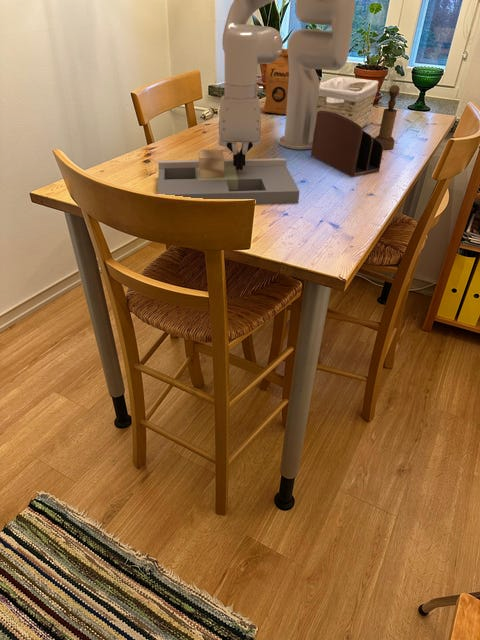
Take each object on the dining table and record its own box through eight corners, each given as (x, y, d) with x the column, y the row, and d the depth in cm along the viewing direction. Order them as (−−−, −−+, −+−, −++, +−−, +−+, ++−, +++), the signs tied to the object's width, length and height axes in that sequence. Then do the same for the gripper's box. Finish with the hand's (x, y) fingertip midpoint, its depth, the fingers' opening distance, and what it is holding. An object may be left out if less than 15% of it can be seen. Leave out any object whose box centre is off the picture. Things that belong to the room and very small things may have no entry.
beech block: (222, 168, 122) (221, 149, 119) (224, 177, 118) (224, 157, 115) (199, 169, 122) (198, 150, 119) (200, 177, 117) (199, 158, 114)
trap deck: (283, 174, 128) (284, 158, 125) (298, 202, 113) (300, 185, 111) (159, 177, 125) (158, 160, 122) (158, 207, 110) (156, 188, 107)
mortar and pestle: (395, 145, 151) (408, 84, 140) (391, 151, 146) (404, 88, 135) (374, 142, 153) (386, 82, 142) (370, 147, 148) (382, 86, 137)
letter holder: (352, 178, 128) (361, 124, 119) (310, 156, 141) (315, 107, 133) (379, 172, 132) (390, 120, 123) (335, 151, 145) (343, 103, 137)
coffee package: (292, 117, 175) (297, 51, 162) (260, 114, 178) (263, 48, 165) (298, 111, 183) (303, 47, 169) (267, 108, 186) (271, 45, 172)
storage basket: (331, 117, 177) (337, 74, 168) (372, 124, 171) (381, 80, 162) (306, 132, 160) (311, 86, 151) (351, 140, 154) (359, 92, 145)
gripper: (269, 87, 113) (265, 163, 124) (208, 87, 111) (209, 163, 122) (274, 95, 107) (269, 173, 118) (209, 95, 105) (211, 174, 117)
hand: (239, 168), depth 120 cm, fingers closed
